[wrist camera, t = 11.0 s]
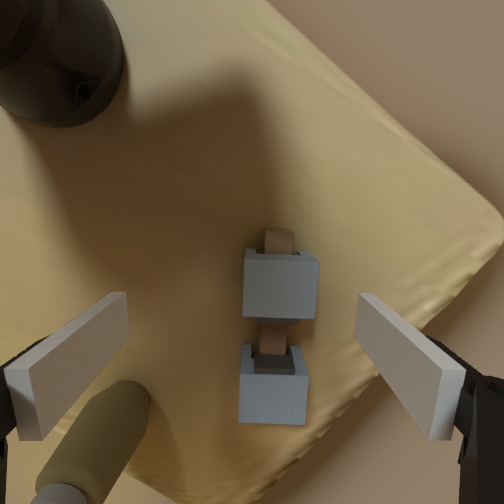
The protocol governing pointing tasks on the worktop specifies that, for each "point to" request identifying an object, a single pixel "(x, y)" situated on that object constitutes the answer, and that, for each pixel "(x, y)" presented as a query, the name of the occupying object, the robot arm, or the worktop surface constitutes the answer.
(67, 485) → the squeeze bottle
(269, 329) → the rail
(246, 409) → the slider block
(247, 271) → the grey cube block
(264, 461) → the worktop surface
